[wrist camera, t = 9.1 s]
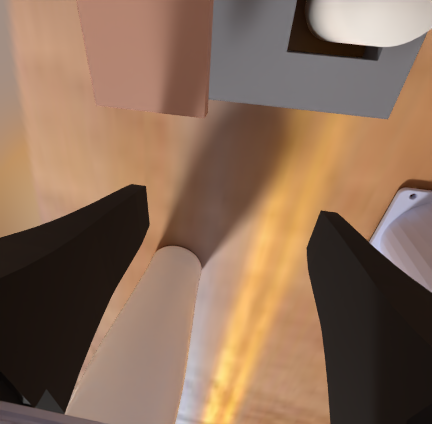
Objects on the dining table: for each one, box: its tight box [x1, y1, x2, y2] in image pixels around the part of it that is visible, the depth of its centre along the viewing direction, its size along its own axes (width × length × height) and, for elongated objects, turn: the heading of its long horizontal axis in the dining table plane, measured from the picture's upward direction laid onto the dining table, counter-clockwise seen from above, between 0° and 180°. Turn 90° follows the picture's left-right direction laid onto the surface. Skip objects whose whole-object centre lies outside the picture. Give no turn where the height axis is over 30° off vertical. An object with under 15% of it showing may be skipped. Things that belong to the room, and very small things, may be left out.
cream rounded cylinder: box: [65, 246, 202, 424], centre depth 21 cm, size 7×7×15 cm
